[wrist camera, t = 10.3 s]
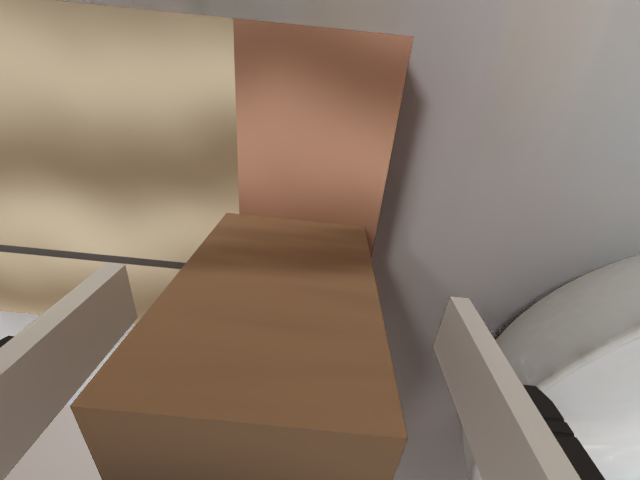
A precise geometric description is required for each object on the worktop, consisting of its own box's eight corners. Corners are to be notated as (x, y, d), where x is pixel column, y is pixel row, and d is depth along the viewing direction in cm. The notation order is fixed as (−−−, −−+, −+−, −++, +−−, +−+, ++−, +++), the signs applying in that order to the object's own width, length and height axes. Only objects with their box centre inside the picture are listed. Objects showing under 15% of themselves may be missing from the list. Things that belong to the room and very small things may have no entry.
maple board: (-199, -17, 12) (-315, -38, 10) (399, 44, 13) (413, 36, 10) (-43, 275, 19) (-93, 301, 17) (352, 313, 19) (354, 344, 17)
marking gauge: (238, 198, 15) (70, 406, 5) (360, 210, 15) (407, 438, 6) (242, 326, 19) (146, 582, 9) (340, 336, 19) (347, 600, 9)
